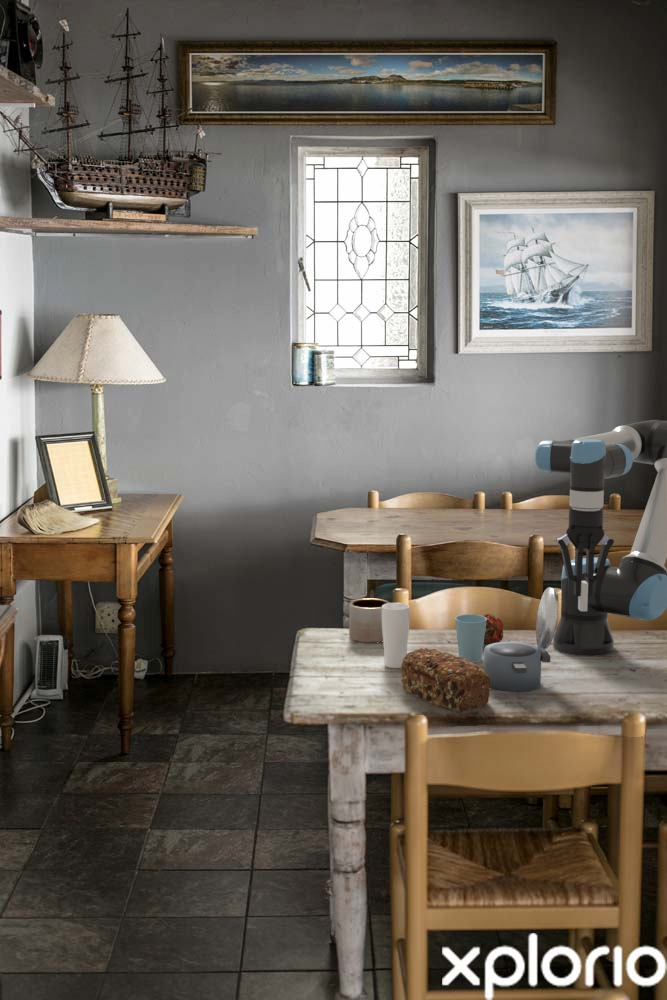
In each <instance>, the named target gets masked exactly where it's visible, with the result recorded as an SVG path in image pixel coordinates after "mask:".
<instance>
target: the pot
mask: <svg viewBox="0 0 667 1000" xmlns="http://www.w3.org/2000/svg"><path fill="white" fill-rule="evenodd" d="M483 649H484V650H483V670H485V671H486V673H487V674H488V675H489V678H490V690H491V689H492V690H494V691H499V692H502V693H514V694H515V693H518V694H520V693H527V692H528V693H529V692H532V691H536V690H537V689H539V688H540V687H541V684H542V683H541V681H542V677H541V676H542V663H551V655H550V654H549V652H548V651H547V649H545V650H544V653H543V652H541V651H540V649H539V648H538V646H537V645H533V644H530V643H525V642H520V641H519V642H518V641H511V640H502V641H500V642H498V643H493V644H489V645H487V646H486V645H485V646H484V647H483Z"/></svg>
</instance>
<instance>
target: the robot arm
mask: <svg viewBox="0 0 667 1000" xmlns="http://www.w3.org/2000/svg"><path fill="white" fill-rule="evenodd" d="M534 457H535V459H534V461H535V464H536V466H537V468H538V469H539V470H540V471H542V472H548V473H549V472H550V474H551V473H560V474H569V475H570V485H569V506H570V508H569V510H568V528H567V529H566V531H565V532H566V533H565V534H564V535H563V536H561V537H557V538H556V543H557V544H558V546H559V548H560V551H561V556H562V560H563V561H562V562H563V565H562V571H561V572H562V573H561V577H560V579H561V590H560V591H561V593H560V596H561V597H560V598H561V599H560V600H561V601H560V619H559V622H558V623H557V625H556V629H555V633H554V637H553V639H552V647H553V648H554V650H556V651H558V652H560V653H563V654H568V655H572V656H578V657H598V656H599V657H600V656H604V655H608V654H611V653H612V652H613V651H614V649H615V647H614V645H615V644H614V642H615V641H614V637H613V634H612V633H613V632H612V630H611V627H610V624H609V620H608V617H609V614H610V615H615V616H621V617H625V618H631V619H633V620H643V621H653V620H656V619H658V618H660V616H662V614H663V613H664V612H665V610H666V609H667V568H666V566H665V563H666V560H667V420H659V419H650V420H644V421H643V420H642V421H638V422H632V423H629V424H624V425H619V426H616V427H615V428H614V429H612V430H611V431H607V432H602V433H598V434H592V435H587V436H581V437H577V438H571V439H565V440H554V439H552V440H546V439H545V440H542V441H540V442H539V443H538V445H537V446H536V449H535V456H534ZM633 463H640V464H648V465H654V468H655V470H656V472H657V474H656V477H655V479H654V480H655V481H654V482H653V483H654V484H653V486H652V489H651V492H650V496H649V498H648V500H647V503H646V505H645V509H644V512H643V515H642V518H641V520H640V523H639V527H638V528H637V532H636V535H635V538H634V541H633V544H632V547H631V550H630V552H629V554H627V555H624V556H622V558H621V560H620V563H619V566H618V567H617V566H611V562H610V560H609V558H608V556H609V555H608V554H609V552H610V549H611V548H612V546H613V545H614V543H615V540H614V539H613V538H611V537H610V536H607V535H606V534H605V531H604V529H603V525H604V524H603V523H604V511H603V509H602V508H604V501H605V500H604V496H605V491H604V490H605V480H606V479H612V478H619V477H621V476H623V475H625V474H628V473H629V471H630V470H631V468H632V466H633ZM569 541H570V543H571V545H572V546H573V547H574V559H571V555H570V552H569V548H568V545H569ZM600 542H601V546H600V550H599V553H598V556H597V557H595V553H596V552H595V551H596V547H597V546H598V545H599V544H600ZM584 550H585V557H584Z"/></svg>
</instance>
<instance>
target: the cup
mask: <svg viewBox="0 0 667 1000" xmlns="http://www.w3.org/2000/svg"><path fill="white" fill-rule="evenodd" d="M454 619H455V629H456V630H455V631H456V638H457V640H456V641H457V647H458V648H457V649H458V657H462V658H464V659H467V660H468V661H470V662H472V663H477V662H480V661H481V660H482V658H483V653H484V650H483V649H484V645H483V644H484V636H485V628H486V621H487V618H486V617H484V615H481V614H471V613H470V614H468V613H467V614H466V613H465V614H460V615H457V616H455V618H454Z"/></svg>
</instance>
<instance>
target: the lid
mask: <svg viewBox="0 0 667 1000" xmlns="http://www.w3.org/2000/svg"><path fill="white" fill-rule="evenodd" d="M559 604H560V603H559V594H558V591H557V589H556V588H554V587H550V586H549V587H546V589H544V592H543V593H542V596H541V599H540V602H539V605H538V609H537V610H538V611H537V615H536V616H537V617H536V622H535V639H536V640H535V641H536V646H537V647H538V648H539V649H540V651H541V652H543V653H544V650H545V649H546V650H547V649H548V648H549V647H550V645H551V644H552V643H553V638H554V635H555V632H556V629H557V626H558V617H559Z"/></svg>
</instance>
